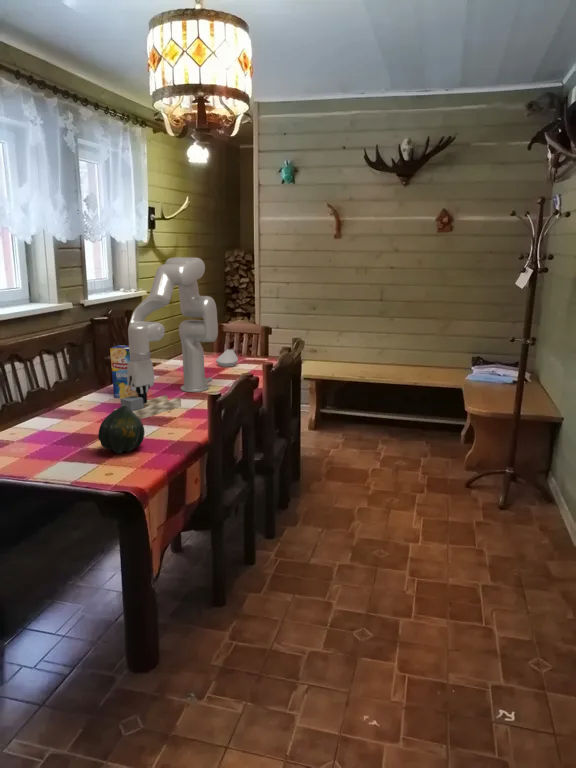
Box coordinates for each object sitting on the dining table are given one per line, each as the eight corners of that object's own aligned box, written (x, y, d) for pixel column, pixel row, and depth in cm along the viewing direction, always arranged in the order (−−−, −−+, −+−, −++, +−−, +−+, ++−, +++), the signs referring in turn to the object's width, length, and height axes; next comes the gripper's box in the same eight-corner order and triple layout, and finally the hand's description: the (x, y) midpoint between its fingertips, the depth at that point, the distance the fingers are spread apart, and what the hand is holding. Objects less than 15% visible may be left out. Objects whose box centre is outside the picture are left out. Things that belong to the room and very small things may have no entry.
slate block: (134, 410, 238) (133, 395, 237) (144, 412, 235) (143, 397, 233) (121, 413, 234) (120, 398, 232) (131, 416, 230) (130, 401, 229)
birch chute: (165, 403, 253) (165, 395, 252) (181, 406, 248) (180, 398, 247) (114, 418, 233) (113, 409, 232) (129, 422, 228) (129, 413, 227)
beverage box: (136, 399, 260) (133, 349, 255) (113, 397, 263) (109, 348, 257) (144, 395, 266) (140, 346, 261) (121, 393, 269) (118, 345, 264)
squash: (92, 444, 188) (122, 405, 190) (87, 432, 202) (115, 396, 203) (129, 468, 194) (158, 430, 196) (122, 454, 208) (149, 419, 209)
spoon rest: (236, 368, 318) (236, 355, 316) (214, 368, 319) (214, 355, 317) (241, 359, 341) (241, 347, 339) (220, 359, 342) (220, 347, 340)
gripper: (148, 352, 241) (151, 397, 245) (117, 358, 230) (121, 405, 234) (161, 354, 237) (164, 400, 241) (130, 361, 225) (134, 408, 229)
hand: (143, 402), depth 237 cm, fingers closed
